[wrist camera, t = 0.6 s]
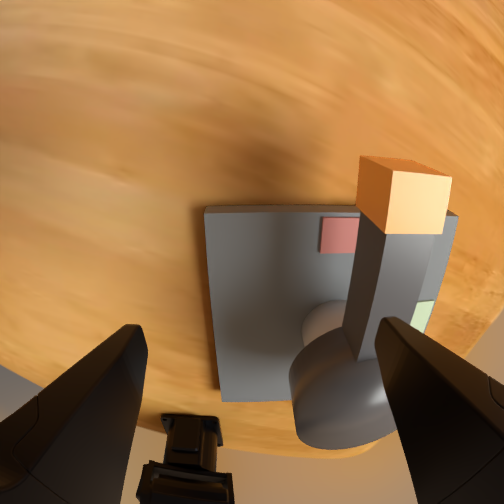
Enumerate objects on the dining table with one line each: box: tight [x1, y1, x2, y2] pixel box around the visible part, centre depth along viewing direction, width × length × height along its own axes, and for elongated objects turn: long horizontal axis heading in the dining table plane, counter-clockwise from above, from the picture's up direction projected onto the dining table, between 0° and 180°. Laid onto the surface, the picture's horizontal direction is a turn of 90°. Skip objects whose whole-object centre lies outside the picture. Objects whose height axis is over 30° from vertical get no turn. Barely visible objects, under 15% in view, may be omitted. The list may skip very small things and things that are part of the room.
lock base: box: [204, 205, 459, 402], centre depth 21 cm, size 18×18×6 cm
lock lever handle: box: [289, 155, 452, 450], centre depth 15 cm, size 17×8×4 cm, turn 0°
